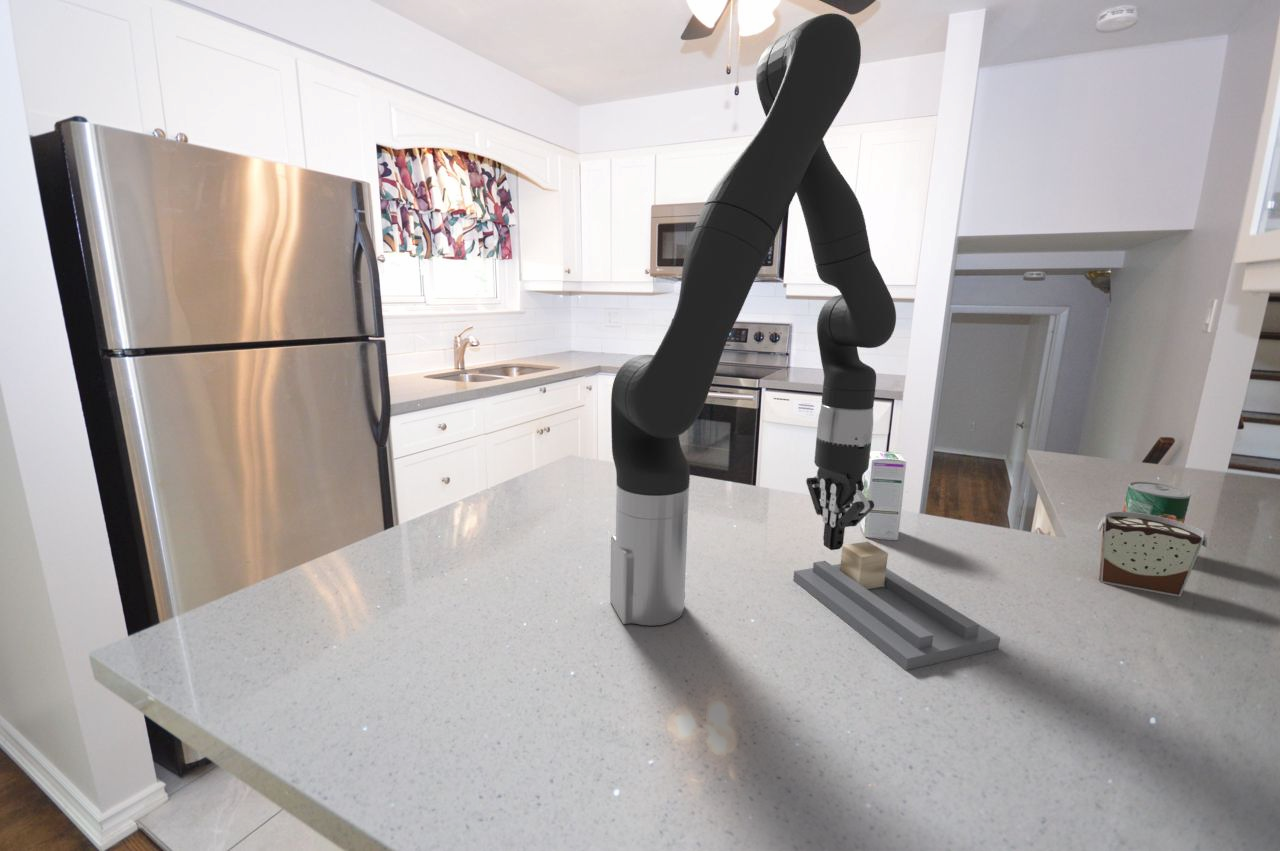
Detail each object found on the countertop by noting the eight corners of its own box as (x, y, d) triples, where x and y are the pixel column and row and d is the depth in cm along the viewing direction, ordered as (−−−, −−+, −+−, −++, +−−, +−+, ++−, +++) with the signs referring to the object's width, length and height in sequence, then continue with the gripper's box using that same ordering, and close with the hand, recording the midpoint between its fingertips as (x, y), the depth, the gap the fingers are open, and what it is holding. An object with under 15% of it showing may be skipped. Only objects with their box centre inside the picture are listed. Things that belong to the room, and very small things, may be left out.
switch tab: (839, 577, 82) (842, 545, 81) (864, 573, 84) (867, 541, 82) (858, 590, 78) (861, 557, 77) (883, 586, 80) (888, 553, 79)
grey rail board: (793, 580, 85) (795, 561, 84) (870, 567, 89) (872, 550, 89) (905, 670, 64) (909, 646, 64) (998, 648, 69) (1002, 626, 68)
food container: (1176, 581, 87) (1191, 519, 85) (1194, 599, 82) (1210, 533, 80) (1077, 564, 92) (1089, 505, 90) (1088, 580, 87) (1101, 518, 85)
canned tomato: (1172, 564, 93) (1187, 500, 91) (1111, 548, 99) (1124, 487, 96) (1179, 551, 98) (1194, 490, 96) (1120, 536, 104) (1133, 478, 101)
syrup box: (898, 541, 100) (909, 460, 96) (863, 537, 101) (872, 458, 98) (891, 528, 105) (901, 452, 102) (857, 525, 106) (866, 449, 103)
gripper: (795, 427, 88) (786, 533, 92) (853, 449, 76) (840, 570, 79) (835, 425, 90) (825, 528, 94) (898, 445, 78) (884, 563, 82)
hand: (832, 547), depth 87 cm, fingers closed
